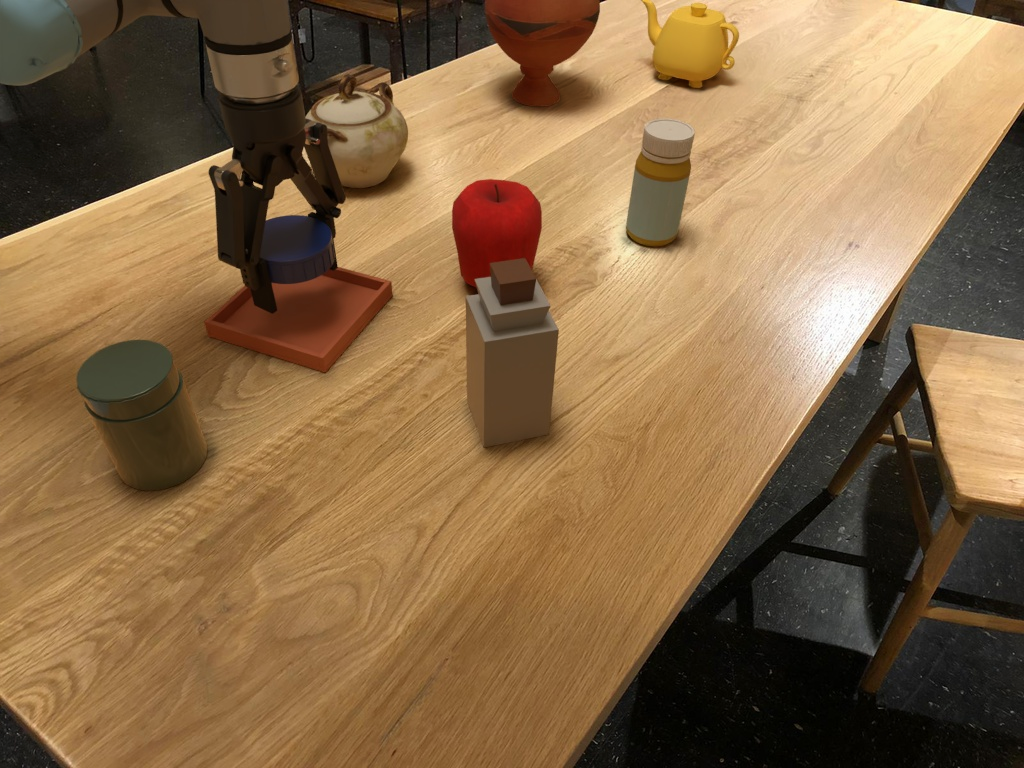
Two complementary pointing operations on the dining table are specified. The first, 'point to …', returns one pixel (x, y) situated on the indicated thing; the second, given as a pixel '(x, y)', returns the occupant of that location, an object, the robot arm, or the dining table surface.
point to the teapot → (691, 43)
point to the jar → (143, 414)
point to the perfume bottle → (510, 355)
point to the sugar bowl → (362, 132)
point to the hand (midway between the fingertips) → (297, 285)
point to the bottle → (660, 182)
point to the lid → (297, 248)
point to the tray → (303, 317)
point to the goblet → (540, 39)
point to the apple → (495, 226)
